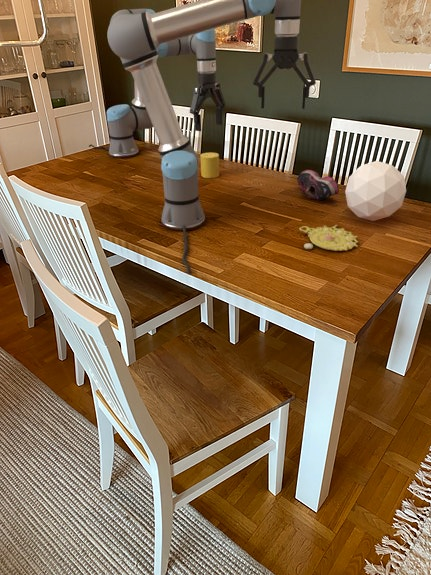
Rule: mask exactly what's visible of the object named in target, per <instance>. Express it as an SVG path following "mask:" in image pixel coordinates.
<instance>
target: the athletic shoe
mask: <svg viewBox="0 0 431 575" xmlns="http://www.w3.org/2000/svg"><path fill="white" fill-rule="evenodd" d="M296 181H297V184H298V187H297V186H296V187H294V189H296V190H299V191H302V194H303V195H304V196H306V197H307V198H308V199H311V200H318V201H322V200H324V199H327V198H330V197H333V196H335V195H336V196H337V195H338V194H339V193H340V190H339V189H340V188H339V185H338V183H337V180H336V179H335V178H334V177H331V176H324V177H321V176H320V173H318V172H317V171H316V170H313V169H305V170H303V171H301V173H299V174H298V175H297V177H296Z"/></svg>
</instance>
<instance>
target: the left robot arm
mask: <svg viewBox="0 0 431 575" xmlns="http://www.w3.org/2000/svg"><path fill="white" fill-rule="evenodd" d="M146 11H147V12H149V13H150V14H155V13H156V11H155V10H153V9H151V8H133V9H132V8H131V9H120V10H118V11H116V12H115V13H114V14H113V15H112V16H111V18H110V21H109V24H110V23H111V22H112V20H113V19H114V18H116V17H117V16H120V15H123V14H128V13H133V14H139V13H143V12H146ZM216 42H217V39H216V30H215V29H211V30H208V31H204V32H201V33H197V34H194V35H191V36H187V37H184V38H180V39H177V40H173V41H170V42H166V43H163V44H160V45H159V47H158V49H157V53H158V58H157V59H162V58H169V57H178V56H189V55H195V56H196V72H198V73H197V83H198V84H199V87H196V86H194V88H193V94H192V95H193V96H192V100H191V103H190V108H189V114H191V115H193V123H194V131H195V132H202V116H201V114H200V112H201V110H202V108H203V105H204V103H205V101H206V100H207V99H209V98H211V100H212V102H213V103H214V105H215V106H216V108H215V125H217V126H222V125H223V109H225V106H226V105H227V103H226V101H225V98H224V95H223V92H222V88H221V83H217V73H216V71H217V59H216V58H217V50H216V49H217V48H216V47H217V46H216V45H217V44H216ZM133 80H134V79H133ZM133 84H134V98H133V99H132V100H131V106H130V105H129V104H125V103H124V104H123V103H122V104H116V105H113V106H111V107H109V108H108V109H106V121H107V128H108V132H109V140H110V141H109V148H107V147H106V146H95V145H93V144H89V145H88V148H91V147H92V148H93V149H105V150H106V151H108V156H109V157H111V158H115V159H125V158H132V157H135V156H137V155H139V148H138V145H137V143H136V141H135V139H134V132H137V131H143V130H149V129H152V128H154V127H153V125H152V122H151V120H150V117H149V115H148V112H147V110H146V107H145V105H144V102H143V100H142V97H141V95H140V93H139V90H138V88H137V85H136V83H135V80H134V83H133Z"/></svg>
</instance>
